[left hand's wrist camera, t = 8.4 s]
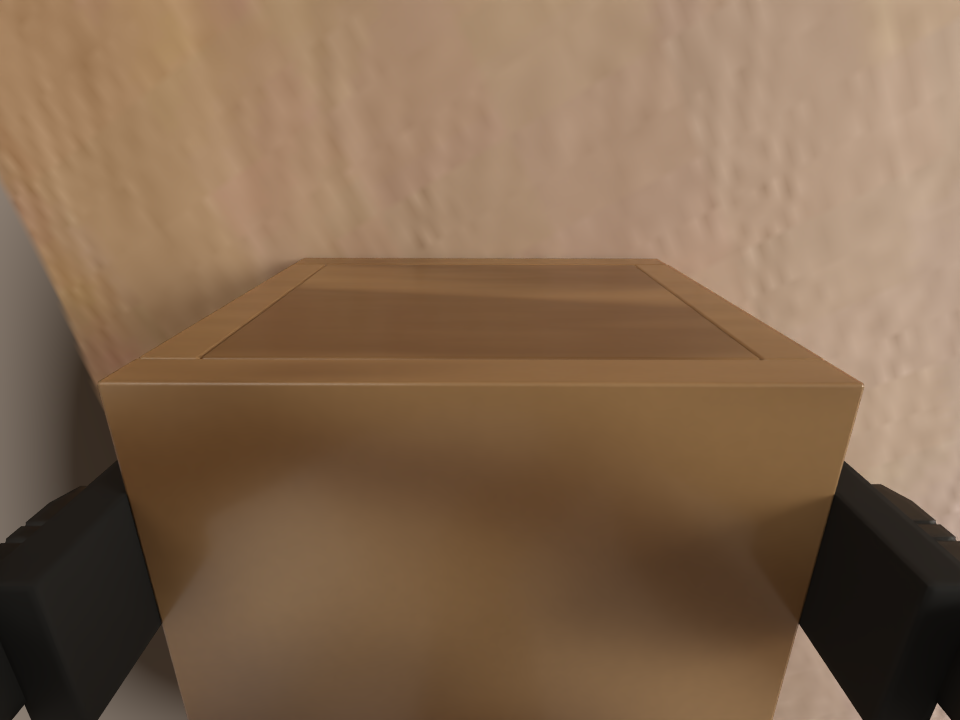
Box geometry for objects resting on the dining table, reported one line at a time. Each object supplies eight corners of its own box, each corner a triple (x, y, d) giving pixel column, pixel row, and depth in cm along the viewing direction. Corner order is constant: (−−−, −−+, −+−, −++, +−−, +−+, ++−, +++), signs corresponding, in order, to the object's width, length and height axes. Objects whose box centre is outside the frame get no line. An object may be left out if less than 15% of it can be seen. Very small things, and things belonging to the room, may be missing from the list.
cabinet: (611, 655, 23) (698, 991, 14) (347, 655, 23) (259, 989, 14) (658, 258, 17) (867, 384, 8) (302, 257, 17) (94, 382, 8)
